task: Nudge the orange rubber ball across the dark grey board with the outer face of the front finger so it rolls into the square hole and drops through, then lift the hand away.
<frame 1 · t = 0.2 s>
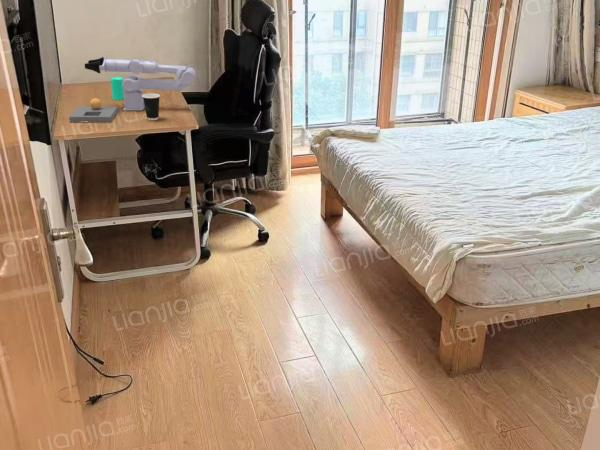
hand: (86, 64, 286), 21 cm above the table, tool horizontal, fingers open, 7 cm apart
dixie cup: (152, 119, 282), on the table
ball: (95, 103, 284), point 5 cm above the table, touching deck
candle: (118, 99, 314), on the table
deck: (94, 116, 282), on the table
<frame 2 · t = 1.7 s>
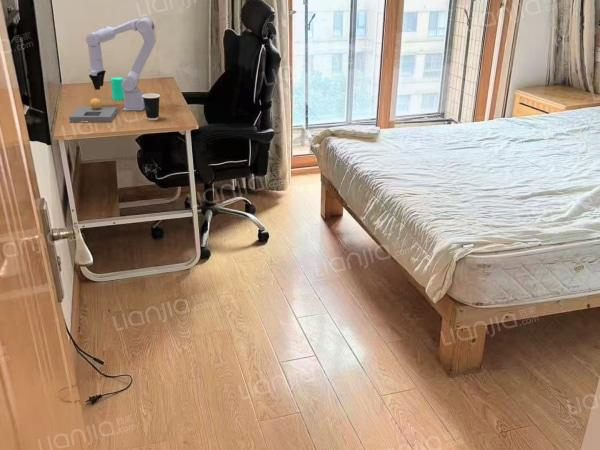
hand: (99, 87, 292), 10 cm above the table, tool pointing down, fingers open, 7 cm apart
nothing on the table moved.
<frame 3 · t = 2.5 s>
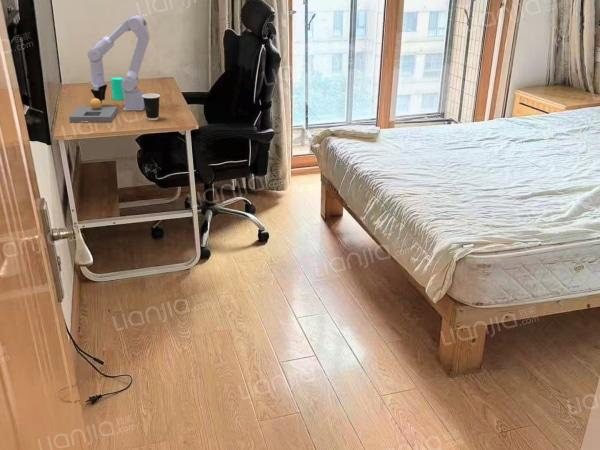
hand: (100, 101, 295), 3 cm above the table, tool pointing down, fingers open, 7 cm apart
nothing on the table moved.
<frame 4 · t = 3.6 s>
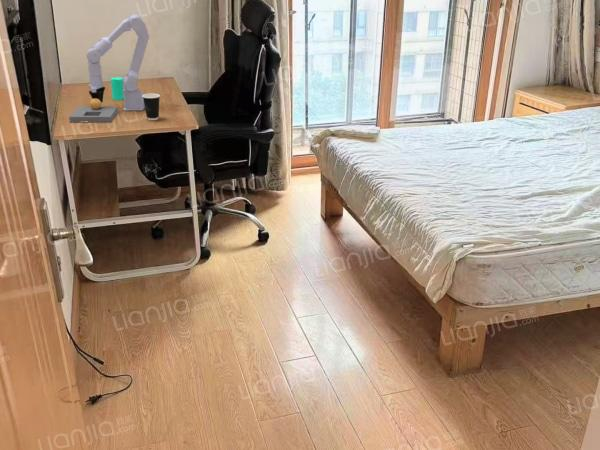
hand: (98, 104, 291), 3 cm above the table, tool pointing down, fingers open, 6 cm apart
ball: (95, 103, 284), point 5 cm above the table, touching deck, gripper
everything else where it was.
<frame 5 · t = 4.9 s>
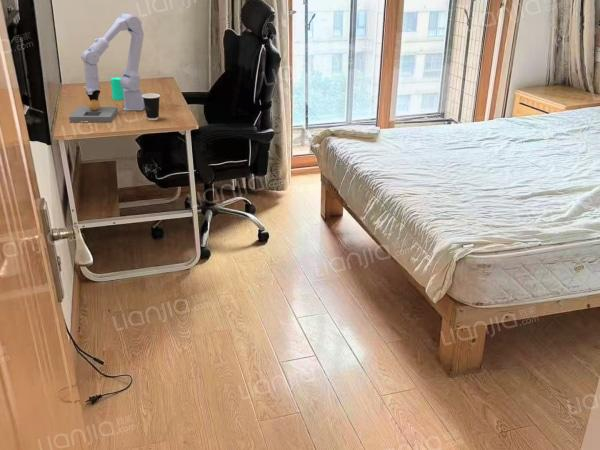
hand: (94, 106, 285), 4 cm above the table, tool pointing down, fingers closed, pressing on ball
ball: (94, 105, 282), point 5 cm above the table, tilted 52°, touching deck, gripper
everything else where it was.
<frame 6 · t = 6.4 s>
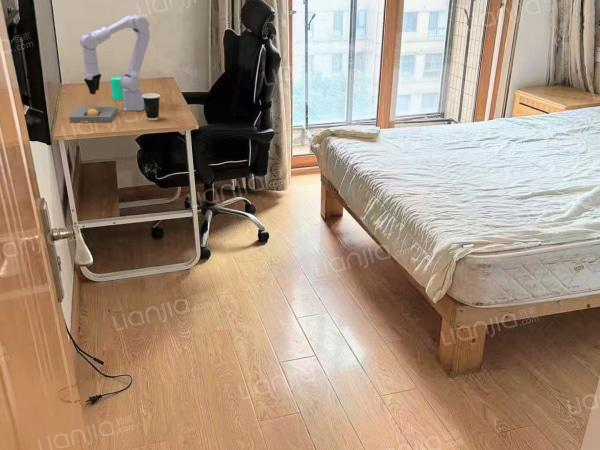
hand: (94, 92, 282), 10 cm above the table, tool pointing down, fingers open, 7 cm apart
ball: (92, 114, 277), point 2 cm above the table, tilted 124°
everything else where it was.
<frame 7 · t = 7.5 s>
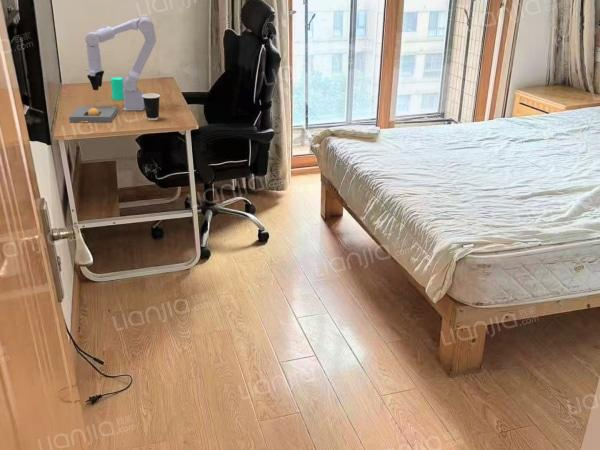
hand: (97, 88, 289), 10 cm above the table, tool pointing down, fingers open, 7 cm apart
ball: (93, 113, 278), point 2 cm above the table, tilted 146°
everything else where it was.
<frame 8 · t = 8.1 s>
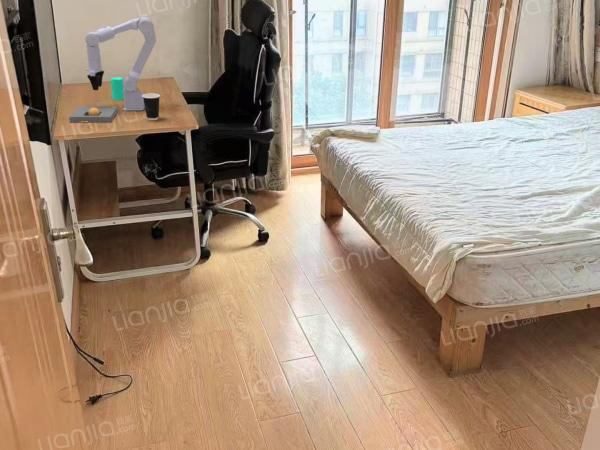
hand: (97, 88, 289), 10 cm above the table, tool pointing down, fingers open, 7 cm apart
ball: (94, 113, 279), point 2 cm above the table, tilted 157°
everything else where it was.
at the end: ball 1.2 cm from the target spot on the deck, point 2.5 cm above the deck's base; the gripper is holding nothing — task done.
